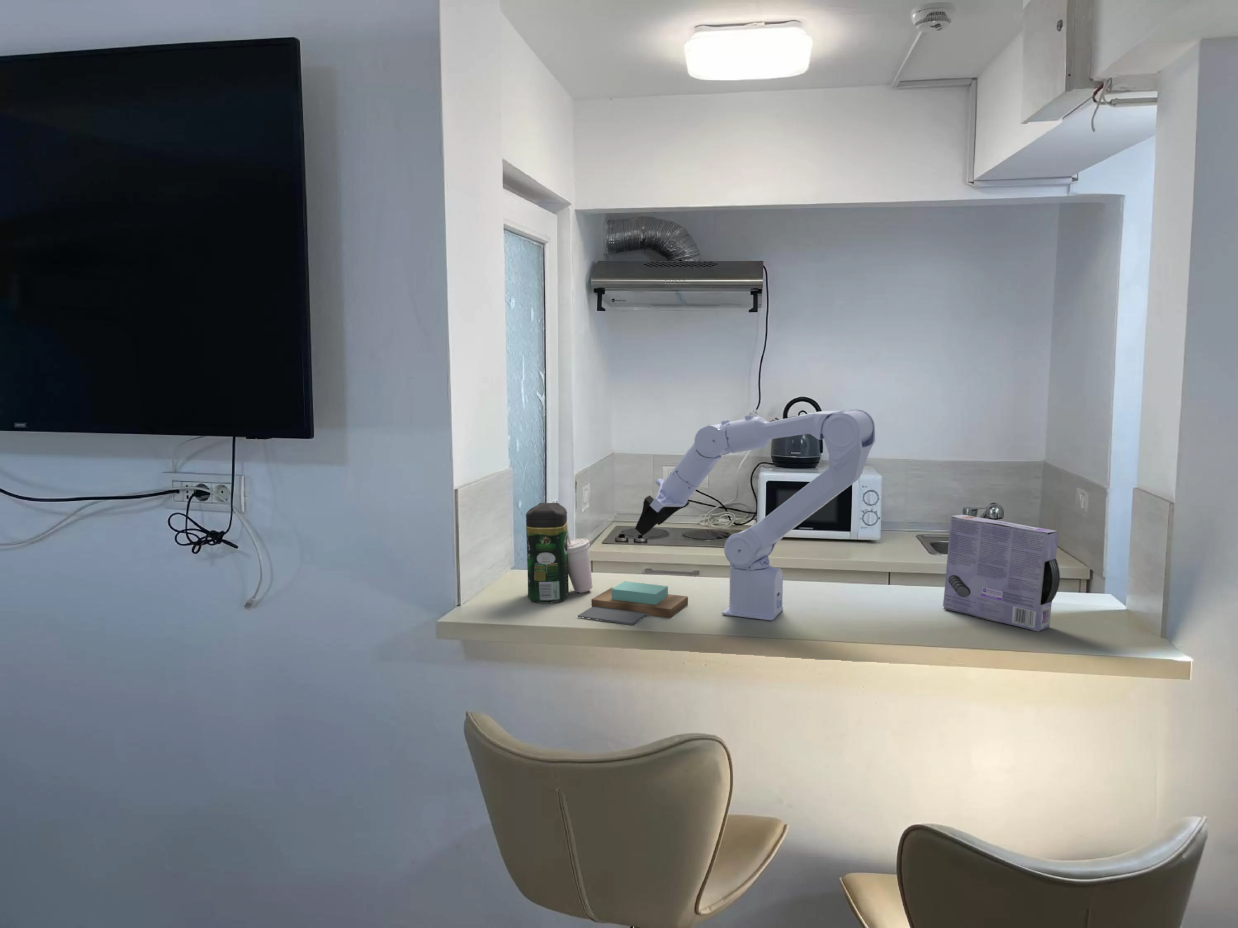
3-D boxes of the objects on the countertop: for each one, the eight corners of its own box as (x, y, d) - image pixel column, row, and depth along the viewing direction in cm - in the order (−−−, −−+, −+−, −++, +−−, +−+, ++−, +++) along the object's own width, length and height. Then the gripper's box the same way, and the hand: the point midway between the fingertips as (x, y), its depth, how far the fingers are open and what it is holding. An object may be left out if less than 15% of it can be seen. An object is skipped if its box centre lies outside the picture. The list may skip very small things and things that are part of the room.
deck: (687, 604, 176) (687, 596, 175) (670, 617, 168) (670, 609, 167) (611, 595, 182) (611, 587, 182) (591, 607, 174) (591, 599, 174)
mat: (647, 614, 169) (647, 612, 169) (632, 625, 163) (632, 623, 163) (593, 608, 174) (593, 605, 174) (577, 617, 168) (577, 615, 168)
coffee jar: (531, 590, 186) (529, 499, 184) (570, 590, 186) (569, 500, 183) (524, 604, 177) (522, 508, 174) (565, 604, 176) (563, 509, 174)
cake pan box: (1058, 628, 160) (1064, 528, 158) (1045, 634, 157) (1051, 532, 155) (955, 604, 175) (959, 512, 172) (941, 609, 171) (945, 516, 169)
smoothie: (563, 590, 187) (547, 525, 184) (592, 580, 189) (577, 515, 186) (574, 597, 181) (558, 530, 178) (604, 587, 183) (588, 520, 180)
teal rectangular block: (667, 596, 176) (667, 586, 175) (655, 604, 170) (655, 594, 170) (624, 591, 179) (624, 581, 179) (611, 599, 174) (611, 588, 174)
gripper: (686, 454, 181) (648, 503, 187) (656, 469, 168) (616, 522, 174) (712, 478, 180) (673, 527, 185) (684, 495, 167) (643, 547, 173)
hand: (647, 526), depth 180 cm, fingers open, 7 cm apart
